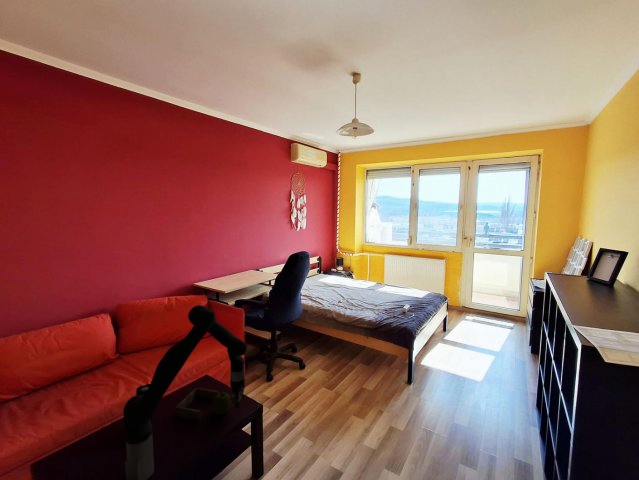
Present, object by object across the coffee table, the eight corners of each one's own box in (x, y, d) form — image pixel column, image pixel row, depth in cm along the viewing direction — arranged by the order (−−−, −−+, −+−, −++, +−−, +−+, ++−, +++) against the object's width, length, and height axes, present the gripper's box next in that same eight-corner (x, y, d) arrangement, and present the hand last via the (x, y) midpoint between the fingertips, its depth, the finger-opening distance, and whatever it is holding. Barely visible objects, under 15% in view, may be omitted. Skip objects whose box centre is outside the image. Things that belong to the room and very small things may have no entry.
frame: (199, 420, 154) (199, 411, 153) (175, 416, 157) (175, 407, 156) (218, 399, 171) (218, 391, 171) (196, 395, 174) (196, 387, 174)
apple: (228, 418, 156) (227, 399, 155) (209, 418, 156) (209, 398, 155) (233, 405, 166) (233, 387, 165) (216, 405, 166) (215, 387, 165)
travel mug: (147, 431, 146) (145, 393, 144) (134, 428, 148) (132, 391, 145) (158, 420, 153) (156, 384, 151) (145, 418, 155) (144, 382, 153)
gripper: (237, 385, 149) (238, 417, 151) (249, 371, 162) (249, 400, 164) (224, 383, 151) (224, 414, 153) (237, 369, 164) (237, 398, 166)
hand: (237, 407), depth 158 cm, fingers closed
